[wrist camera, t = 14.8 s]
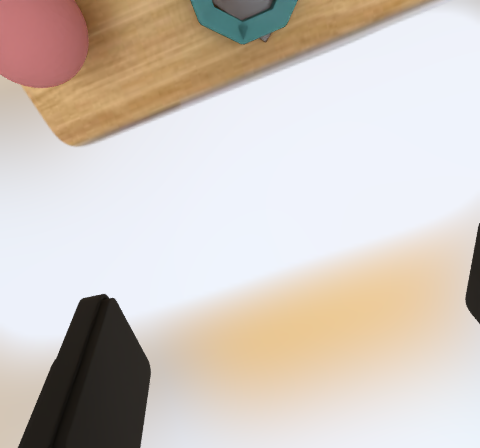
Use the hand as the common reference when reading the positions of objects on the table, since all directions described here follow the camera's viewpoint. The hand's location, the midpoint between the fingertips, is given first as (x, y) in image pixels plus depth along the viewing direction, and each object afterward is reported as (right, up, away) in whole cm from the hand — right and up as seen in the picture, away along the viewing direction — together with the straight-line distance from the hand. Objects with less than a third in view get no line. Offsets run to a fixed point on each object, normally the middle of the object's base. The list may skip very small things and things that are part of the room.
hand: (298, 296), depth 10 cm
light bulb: (-16, +19, +22) cm, 34 cm away
